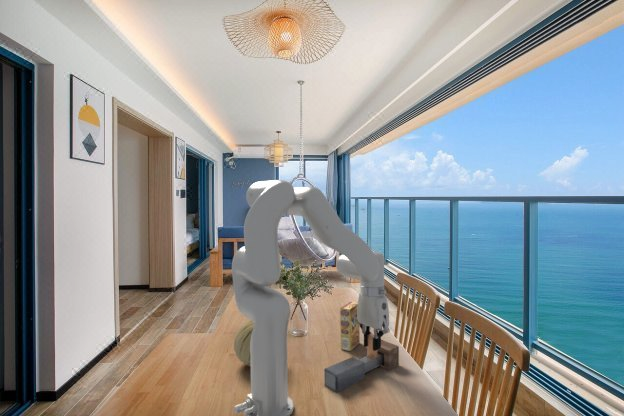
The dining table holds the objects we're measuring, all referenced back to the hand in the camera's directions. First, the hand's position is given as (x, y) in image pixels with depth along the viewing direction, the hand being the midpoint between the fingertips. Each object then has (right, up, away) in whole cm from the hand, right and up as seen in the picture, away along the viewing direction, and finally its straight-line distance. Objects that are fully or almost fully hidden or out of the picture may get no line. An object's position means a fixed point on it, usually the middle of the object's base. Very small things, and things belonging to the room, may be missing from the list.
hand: (372, 346), depth 116 cm
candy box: (-5, -7, +18) cm, 20 cm away
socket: (+5, -7, +4) cm, 9 cm away
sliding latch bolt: (-3, -6, -2) cm, 7 cm away
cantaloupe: (-38, -8, +4) cm, 39 cm away
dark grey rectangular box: (-10, -8, -8) cm, 14 cm away
